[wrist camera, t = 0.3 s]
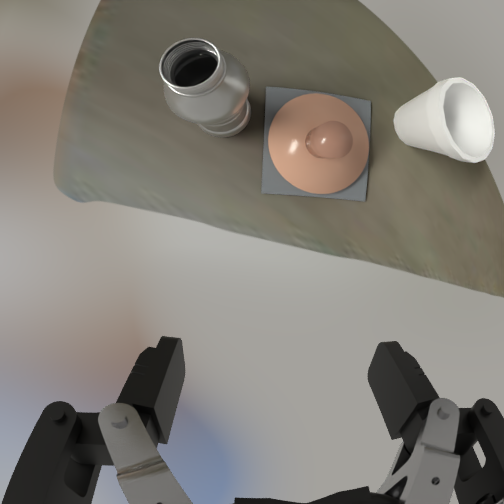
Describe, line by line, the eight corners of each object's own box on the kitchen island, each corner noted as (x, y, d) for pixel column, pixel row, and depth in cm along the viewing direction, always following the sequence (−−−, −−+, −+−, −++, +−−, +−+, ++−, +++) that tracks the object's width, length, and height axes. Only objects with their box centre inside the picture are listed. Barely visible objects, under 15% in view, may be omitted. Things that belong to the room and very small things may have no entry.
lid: (270, 90, 30) (273, 74, 23) (367, 104, 30) (390, 93, 23) (265, 189, 34) (268, 196, 27) (362, 197, 34) (384, 206, 27)
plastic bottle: (206, 87, 30) (154, 17, 11) (257, 98, 30) (261, 27, 12) (193, 133, 32) (122, 106, 13) (244, 144, 32) (231, 123, 14)
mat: (266, 87, 30) (266, 86, 30) (369, 101, 30) (370, 101, 30) (261, 192, 34) (261, 193, 34) (363, 201, 35) (365, 201, 34)
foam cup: (443, 123, 30) (501, 119, 18) (421, 169, 33) (480, 179, 20) (398, 82, 29) (452, 60, 16) (373, 129, 31) (426, 120, 19)
